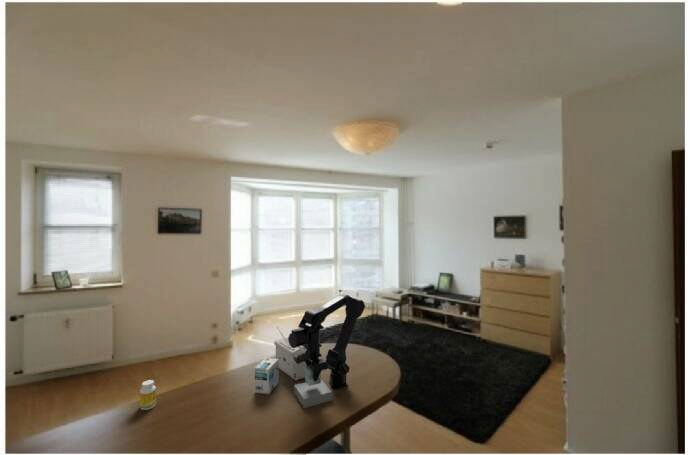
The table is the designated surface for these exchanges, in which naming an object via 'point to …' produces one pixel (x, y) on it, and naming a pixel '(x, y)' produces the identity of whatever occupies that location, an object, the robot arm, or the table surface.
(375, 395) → the table surface
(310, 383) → the teal block
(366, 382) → the table surface
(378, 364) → the table surface
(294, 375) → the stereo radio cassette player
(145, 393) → the supplement bottle
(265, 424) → the table surface
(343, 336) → the robot arm
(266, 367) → the light bulb box
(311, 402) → the grey square block
